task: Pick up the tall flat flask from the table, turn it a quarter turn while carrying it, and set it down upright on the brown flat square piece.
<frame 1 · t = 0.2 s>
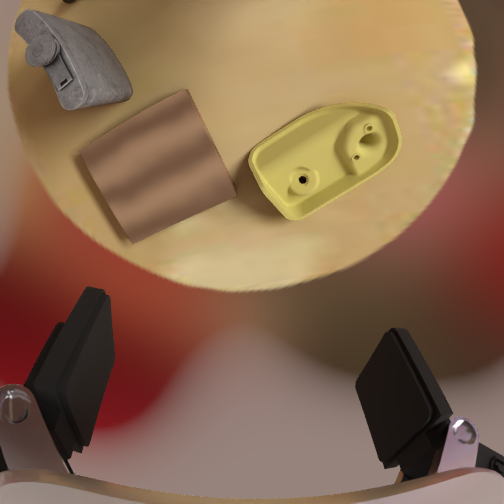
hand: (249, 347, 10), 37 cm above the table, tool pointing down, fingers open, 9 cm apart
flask: (105, 61, 35), on the table
brown flat square piece: (158, 166, 43), on the table
plastic component: (323, 153, 44), on the table
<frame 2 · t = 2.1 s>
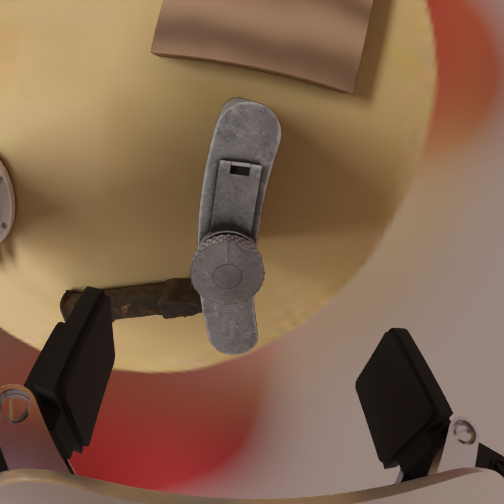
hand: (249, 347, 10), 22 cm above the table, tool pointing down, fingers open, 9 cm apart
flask: (229, 172, 30), on the table
hand tool: (137, 286, 35), on the table
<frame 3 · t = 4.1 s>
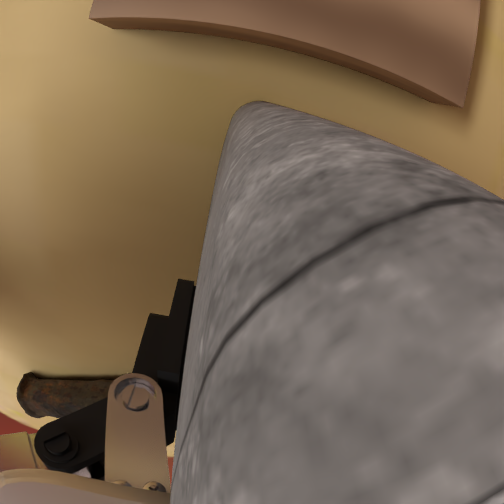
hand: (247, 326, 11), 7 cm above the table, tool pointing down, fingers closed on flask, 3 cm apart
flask: (240, 233, 18), on the table, touching gripper
hand tool: (111, 375, 23), on the table
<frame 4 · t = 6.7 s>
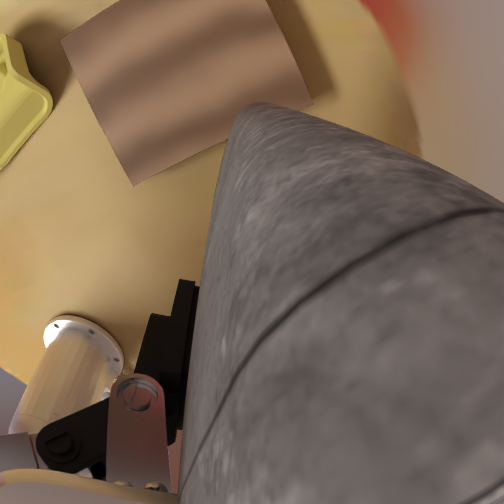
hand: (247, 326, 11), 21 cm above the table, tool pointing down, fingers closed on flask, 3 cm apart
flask: (240, 233, 18), point 14 cm above the table, touching gripper
brown flat square piece: (183, 62, 24), on the table
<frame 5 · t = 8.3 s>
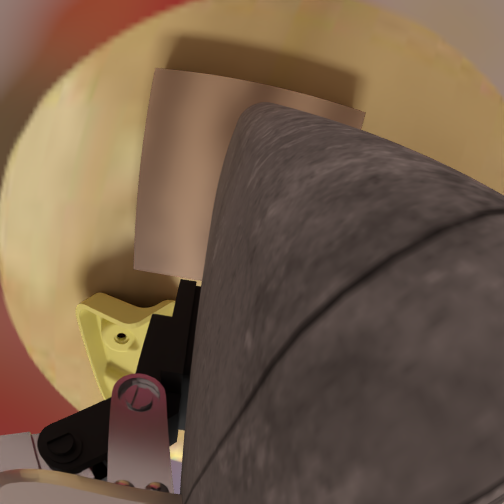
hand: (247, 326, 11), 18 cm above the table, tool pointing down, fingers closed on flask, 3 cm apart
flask: (240, 233, 18), point 11 cm above the table, touching gripper
brown flat square piece: (239, 181, 27), on the table
plastic component: (138, 350, 37), on the table
when the fingers open (11 cm above the table, at t = 9.7 s): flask stays where it is, resting on brown flat square piece.
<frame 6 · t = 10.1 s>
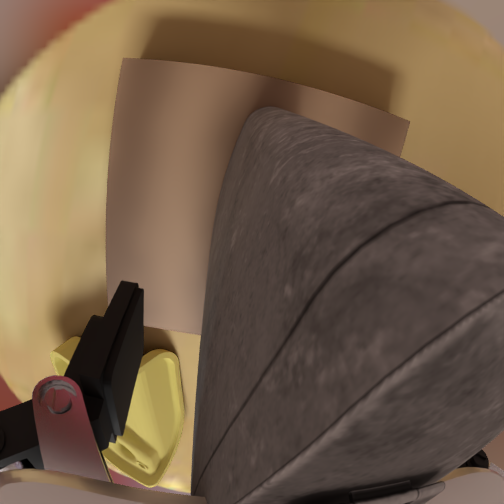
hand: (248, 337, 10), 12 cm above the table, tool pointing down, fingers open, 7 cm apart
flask: (241, 229, 18), point 3 cm above the table, touching brown flat square piece
brown flat square piece: (240, 209, 21), on the table
plastic component: (126, 394, 30), on the table
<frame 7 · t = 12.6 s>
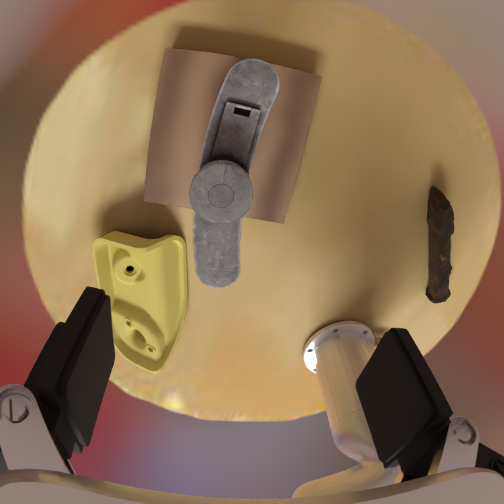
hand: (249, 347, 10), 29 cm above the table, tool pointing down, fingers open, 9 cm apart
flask: (227, 138, 32), point 3 cm above the table, touching brown flat square piece
hand tool: (429, 243, 43), on the table
brown flat square piece: (228, 132, 34), on the table
plastic component: (142, 287, 44), on the table
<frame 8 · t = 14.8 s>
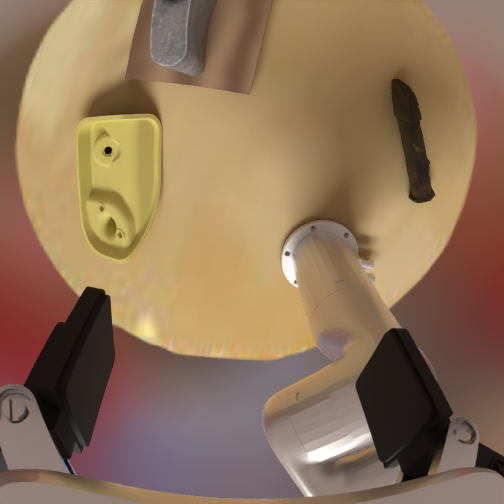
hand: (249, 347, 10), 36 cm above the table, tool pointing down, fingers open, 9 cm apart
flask: (199, 23, 31), point 3 cm above the table, touching brown flat square piece
hand tool: (403, 140, 42), on the table
brown flat square piece: (201, 26, 34), on the table
plastic component: (120, 178, 43), on the table
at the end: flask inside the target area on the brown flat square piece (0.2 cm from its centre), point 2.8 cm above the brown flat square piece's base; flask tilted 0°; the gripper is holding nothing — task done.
